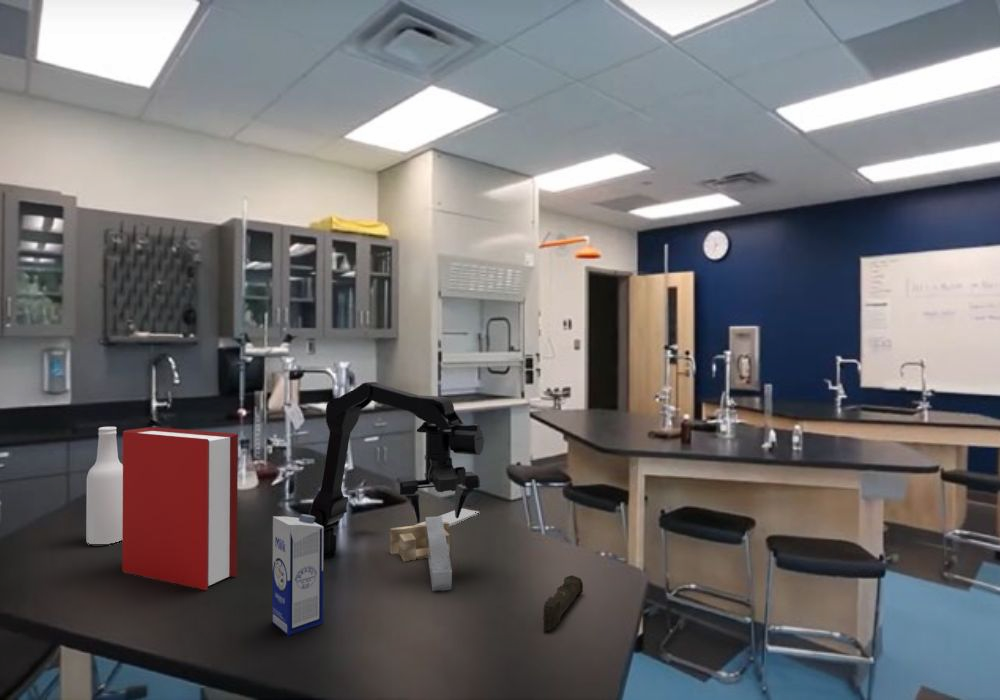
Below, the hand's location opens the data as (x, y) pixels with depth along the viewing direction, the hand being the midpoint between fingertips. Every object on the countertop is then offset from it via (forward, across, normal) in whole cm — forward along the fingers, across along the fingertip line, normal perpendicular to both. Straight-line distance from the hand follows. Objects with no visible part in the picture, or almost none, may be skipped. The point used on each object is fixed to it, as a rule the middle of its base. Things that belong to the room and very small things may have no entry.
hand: (437, 520), depth 131 cm
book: (+12, -55, +20) cm, 60 cm away
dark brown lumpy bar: (+12, +17, -28) cm, 35 cm away
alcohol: (+12, -75, +51) cm, 92 cm away
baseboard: (+13, +10, +35) cm, 38 cm away
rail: (+9, 0, 0) cm, 9 cm away
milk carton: (+12, -31, -14) cm, 36 cm away
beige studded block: (+12, 0, +13) cm, 17 cm away
